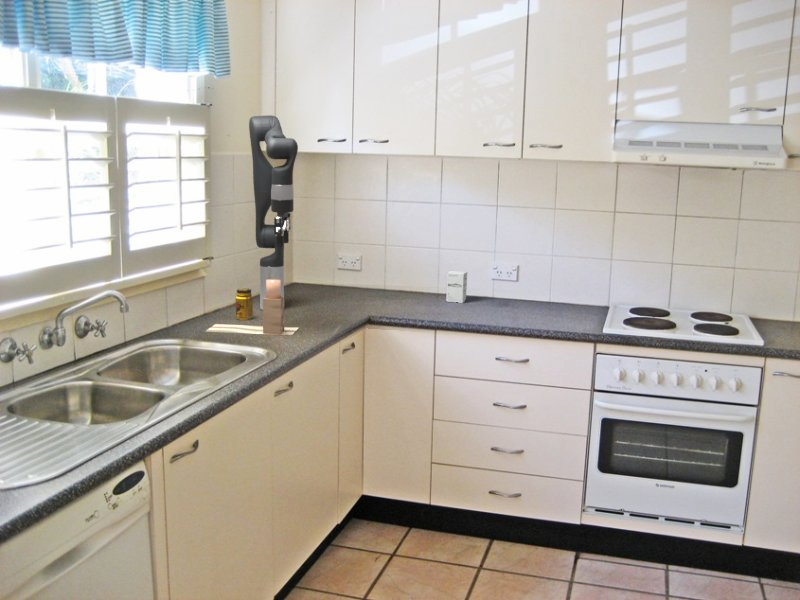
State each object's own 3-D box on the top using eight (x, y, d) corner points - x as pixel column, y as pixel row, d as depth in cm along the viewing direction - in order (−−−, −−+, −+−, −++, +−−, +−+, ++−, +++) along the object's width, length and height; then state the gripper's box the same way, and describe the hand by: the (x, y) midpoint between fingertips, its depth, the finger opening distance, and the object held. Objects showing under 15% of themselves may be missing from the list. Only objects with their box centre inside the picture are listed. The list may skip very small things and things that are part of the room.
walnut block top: (267, 312, 291) (267, 295, 290) (284, 313, 290) (284, 296, 289) (262, 316, 285) (262, 298, 284) (280, 316, 284) (280, 299, 283)
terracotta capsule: (268, 296, 289) (267, 278, 288) (281, 296, 289) (281, 279, 287) (264, 298, 284) (264, 281, 283) (278, 299, 284) (278, 281, 283)
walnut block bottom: (267, 329, 292) (267, 312, 291) (284, 330, 291) (284, 313, 290) (263, 333, 286) (262, 316, 285) (280, 334, 285) (280, 316, 284)
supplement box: (445, 302, 356) (446, 272, 354) (449, 299, 363) (450, 270, 361) (462, 303, 354) (463, 273, 352) (466, 300, 361) (467, 271, 359)
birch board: (215, 326, 299) (215, 324, 299) (298, 330, 296) (298, 327, 296) (204, 334, 287) (204, 331, 287) (291, 338, 285) (291, 335, 285)
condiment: (231, 322, 307) (230, 289, 305) (244, 318, 315) (244, 286, 313) (247, 324, 304) (247, 291, 302) (260, 320, 312) (260, 288, 310)
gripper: (276, 195, 294) (276, 241, 298) (266, 199, 280) (266, 247, 284) (297, 196, 293) (297, 242, 297) (288, 200, 280) (288, 248, 283)
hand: (282, 244), depth 290 cm, fingers open, 8 cm apart
